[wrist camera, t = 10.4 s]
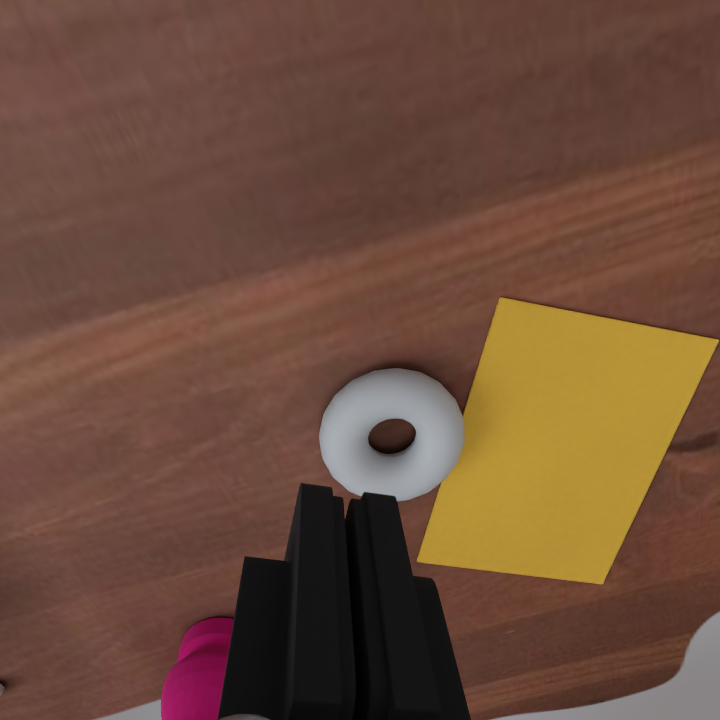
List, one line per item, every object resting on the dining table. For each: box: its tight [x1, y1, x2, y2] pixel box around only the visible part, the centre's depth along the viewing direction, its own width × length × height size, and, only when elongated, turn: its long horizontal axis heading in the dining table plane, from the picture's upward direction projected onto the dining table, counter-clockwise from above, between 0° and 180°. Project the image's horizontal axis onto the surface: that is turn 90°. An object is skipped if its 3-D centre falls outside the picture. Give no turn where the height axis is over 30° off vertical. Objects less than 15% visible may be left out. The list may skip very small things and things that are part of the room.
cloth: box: [417, 297, 719, 584], centre depth 42 cm, size 22×16×1 cm
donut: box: [319, 368, 465, 501], centre depth 39 cm, size 10×4×10 cm
